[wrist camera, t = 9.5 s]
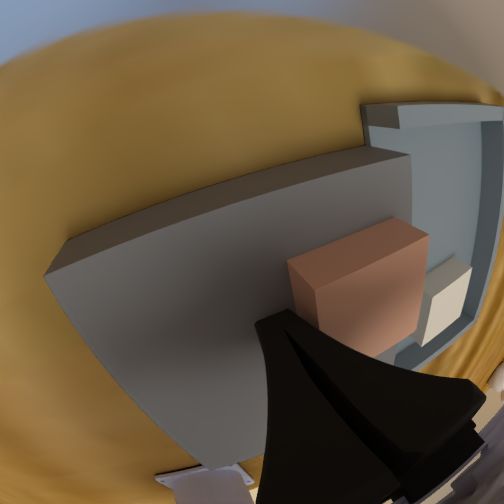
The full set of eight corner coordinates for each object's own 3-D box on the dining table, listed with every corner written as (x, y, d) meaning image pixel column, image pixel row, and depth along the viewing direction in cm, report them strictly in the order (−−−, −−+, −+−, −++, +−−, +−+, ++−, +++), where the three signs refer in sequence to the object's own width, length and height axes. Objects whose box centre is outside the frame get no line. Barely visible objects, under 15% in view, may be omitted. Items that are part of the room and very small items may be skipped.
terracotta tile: (390, 308, 13) (415, 330, 11) (304, 353, 12) (324, 384, 10) (394, 216, 11) (429, 234, 9) (286, 260, 10) (314, 289, 8)
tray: (460, 309, 23) (476, 322, 21) (364, 375, 21) (380, 395, 19) (480, 102, 14) (506, 107, 11) (359, 105, 11) (397, 105, 9)
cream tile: (421, 346, 18) (405, 332, 19) (459, 316, 19) (444, 304, 20) (432, 297, 15) (412, 282, 17) (472, 267, 16) (453, 256, 18)
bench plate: (365, 368, 20) (386, 393, 18) (200, 438, 18) (209, 470, 15) (365, 145, 12) (410, 154, 10) (66, 241, 10) (43, 276, 7)
